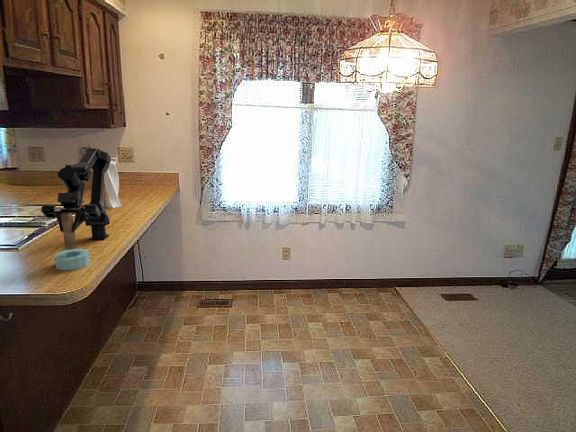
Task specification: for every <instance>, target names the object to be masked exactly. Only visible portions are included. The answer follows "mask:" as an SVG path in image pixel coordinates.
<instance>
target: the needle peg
mask: <svg viewBox="0 0 576 432" xmlns="http://www.w3.org/2000/svg"><path fill="white" fill-rule="evenodd" d="M61 221H62V228H63V232H62V234H63V239H64V240H63V241H64V248H65V250H72V249H78V248H77V240H76V231H75V232H72V227H73V223H74V218H73V214H72V213H63V214H61Z"/></svg>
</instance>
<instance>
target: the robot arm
mask: <svg viewBox="0 0 576 432" xmlns="http://www.w3.org/2000/svg"><path fill="white" fill-rule="evenodd" d="M111 158H112V157H111V156H110V154H109V153H108V152H106V151H103V150H101V149H100V148H97V147H95V148H91V147H90V148H89V147H88V148H86V149H85V153H84V154H83V156H82V157H81V159H80V160H79V161H78V162H77V163H73V164H65V166H64V167H62V168H61V169H59V171H58V172H57V178H59V180H60V181H61V182H62V184H63V187H65V188H67V189H66V192H58V193H57V203H60V205H61V207H57V206H56V205H55V204H43V205H42V206H41V208H40V212H41V213H42V214H43V216H45V218H46V219H56V220H57V221H58V227H59V232H60V233H63V228H62V221H61V214H63V213H72V215H73V214H74V219H73V227H72V232H75V233H76V231H77V230H78V228H79V227H80V226H81V225H82V224H83V223H84V222H85V226H86V227H89V226H90V228H91V236H90V237H89V238H88V240H94V241H96V240H97V241H98V240H99V241H101V240H103V241H104V240H105V239H107V238H108V237H110V234H109V233H107V229H106V226H109V225H110V224H111V223H110V221H111V220H110V217H109V214H107V210H106V209H107V208H104V205H103V188H105V187H104V186H105V181H104V175H105V172H106V171H107V170H108V169H109V164H110V162H111V161H112V159H111ZM91 169H92V170H91ZM91 178H92V179H91ZM90 179H91V181H92V182H91V189H90V190H91V191H90V202H89V203H87V204H84V201H85V200H84V196H85V192H86V191H87V188H86V184H85V183H84V182H89V181H90ZM82 204H84V207H82Z"/></svg>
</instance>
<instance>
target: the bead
mask: <svg viewBox="0 0 576 432" xmlns="http://www.w3.org/2000/svg"><path fill="white" fill-rule="evenodd" d="M54 262H55V263H54V264H55V269H56V270H57V269H58V270H60V271H74V270H79V269H82V268H85V267H87V266H89V265H90V264H91V260H90V253H89V250H87V249H85V248H75V249H72V250H66V249H65V250H62V251H59V252H58V253H56V254H54Z"/></svg>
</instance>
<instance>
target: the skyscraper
mask: <svg viewBox="0 0 576 432" xmlns="http://www.w3.org/2000/svg"><path fill="white" fill-rule="evenodd" d="M112 159H114V160H115V161H113V160H112ZM116 163H117V157H111V162H110V164H109V169H108V170H107V171H106V172H105V175H104V186H105V187H104V188H105V189H104V188H103V201H102V204H103V206H104V208H105V209H107V210H114V209H118V208H122V205H121V202H120V199H119V190H120V178H119V173H118V169H117V166H116ZM105 190H106V192H105ZM106 194H107V197H108V199H106Z"/></svg>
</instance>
